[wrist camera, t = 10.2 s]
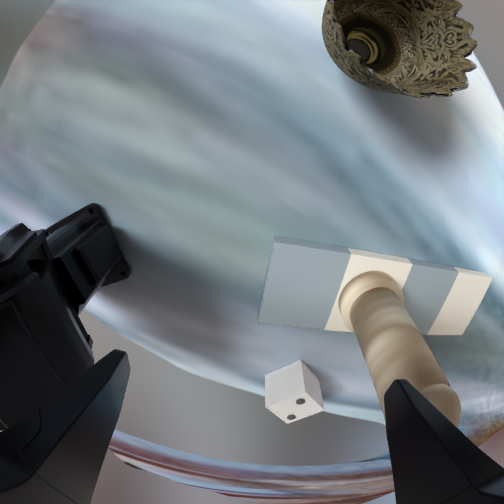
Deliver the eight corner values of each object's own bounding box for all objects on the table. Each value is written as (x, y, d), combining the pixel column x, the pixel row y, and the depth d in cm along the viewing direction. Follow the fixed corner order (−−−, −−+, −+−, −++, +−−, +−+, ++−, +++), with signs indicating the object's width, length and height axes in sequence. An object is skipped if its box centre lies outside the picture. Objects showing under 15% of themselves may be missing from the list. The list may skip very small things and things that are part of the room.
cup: (313, 105, 16) (352, 98, 9) (291, 5, 13) (311, -55, 6) (414, 101, 16) (490, 104, 8) (393, 7, 12) (454, -29, 5)
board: (257, 315, 23) (257, 323, 22) (274, 236, 20) (275, 242, 19) (458, 329, 25) (462, 334, 24) (487, 273, 21) (492, 278, 21)
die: (285, 393, 28) (287, 424, 25) (264, 374, 27) (265, 408, 23) (318, 379, 27) (324, 411, 24) (300, 358, 26) (305, 393, 22)
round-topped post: (343, 330, 23) (386, 479, 11) (333, 282, 21) (391, 451, 9) (397, 311, 22) (465, 445, 10) (394, 262, 20) (490, 405, 8)
